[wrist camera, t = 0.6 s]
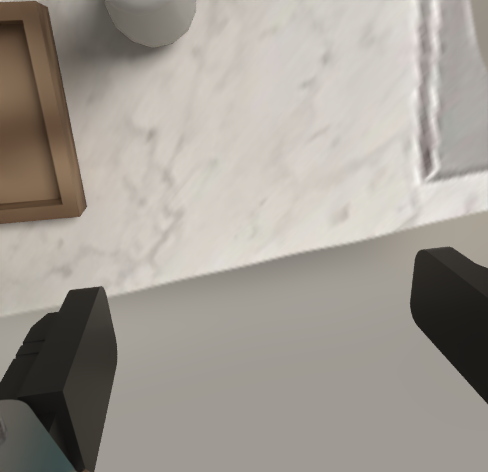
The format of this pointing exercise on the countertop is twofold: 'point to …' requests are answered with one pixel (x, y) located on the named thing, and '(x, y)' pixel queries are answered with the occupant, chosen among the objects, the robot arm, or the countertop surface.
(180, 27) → the salt shaker
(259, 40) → the countertop surface
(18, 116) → the walnut tray
